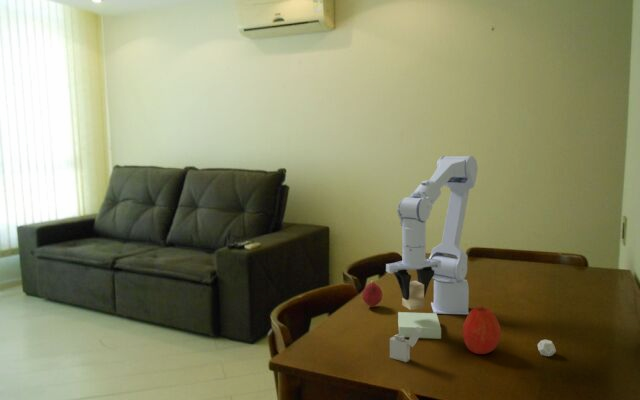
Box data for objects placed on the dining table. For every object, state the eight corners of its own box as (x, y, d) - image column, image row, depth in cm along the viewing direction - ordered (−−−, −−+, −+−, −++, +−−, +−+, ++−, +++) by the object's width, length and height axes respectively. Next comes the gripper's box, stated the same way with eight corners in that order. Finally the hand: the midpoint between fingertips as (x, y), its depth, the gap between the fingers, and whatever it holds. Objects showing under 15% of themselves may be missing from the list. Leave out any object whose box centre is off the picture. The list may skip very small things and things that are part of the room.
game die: (547, 359, 96) (548, 346, 95) (533, 352, 99) (534, 339, 99) (559, 356, 97) (559, 343, 97) (544, 349, 100) (545, 336, 100)
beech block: (416, 302, 115) (416, 280, 114) (424, 307, 111) (424, 284, 111) (402, 304, 114) (402, 282, 113) (409, 309, 110) (409, 286, 110)
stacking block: (436, 324, 117) (436, 313, 117) (441, 340, 107) (441, 328, 107) (398, 322, 118) (398, 312, 118) (399, 338, 109) (399, 326, 108)
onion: (381, 311, 126) (381, 284, 125) (361, 310, 127) (361, 283, 126) (383, 304, 131) (382, 278, 131) (363, 303, 133) (363, 277, 132)
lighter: (389, 357, 98) (389, 322, 97) (392, 354, 99) (392, 320, 98) (419, 366, 94) (419, 330, 93) (422, 362, 95) (423, 327, 94)
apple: (496, 363, 94) (497, 314, 93) (457, 354, 99) (458, 308, 98) (503, 348, 101) (504, 303, 100) (466, 340, 106) (467, 297, 105)
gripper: (430, 239, 116) (430, 289, 118) (380, 244, 112) (380, 296, 114) (445, 245, 110) (445, 297, 111) (393, 250, 105) (393, 305, 107)
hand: (413, 297), depth 112 cm, fingers closed on beech block, 4 cm apart
